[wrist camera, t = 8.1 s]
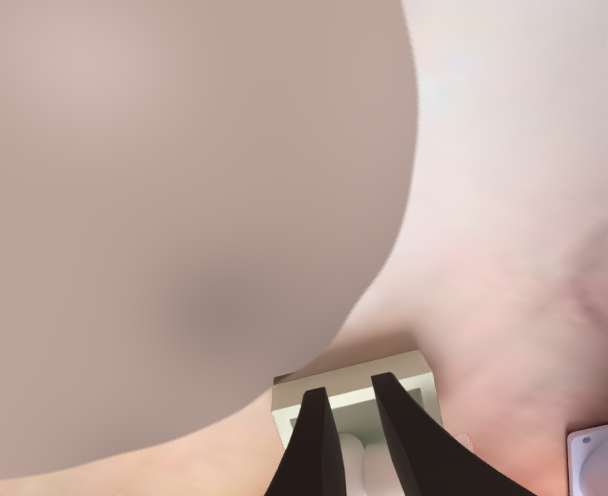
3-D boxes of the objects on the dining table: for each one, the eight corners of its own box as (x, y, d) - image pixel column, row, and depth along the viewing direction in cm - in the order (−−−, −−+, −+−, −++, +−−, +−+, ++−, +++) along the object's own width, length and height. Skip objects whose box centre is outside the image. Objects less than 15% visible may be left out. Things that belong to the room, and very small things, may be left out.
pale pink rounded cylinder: (350, 568, 22) (314, 501, 20) (329, 514, 25) (298, 452, 24) (405, 534, 22) (375, 465, 21) (377, 485, 26) (350, 423, 24)
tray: (415, 341, 24) (432, 372, 21) (447, 496, 28) (465, 538, 25) (273, 377, 24) (271, 411, 21) (325, 523, 28) (328, 568, 25)
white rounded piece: (385, 473, 24) (479, 467, 22) (382, 533, 21) (491, 532, 19) (367, 429, 23) (463, 419, 21) (360, 484, 20) (473, 478, 18)
